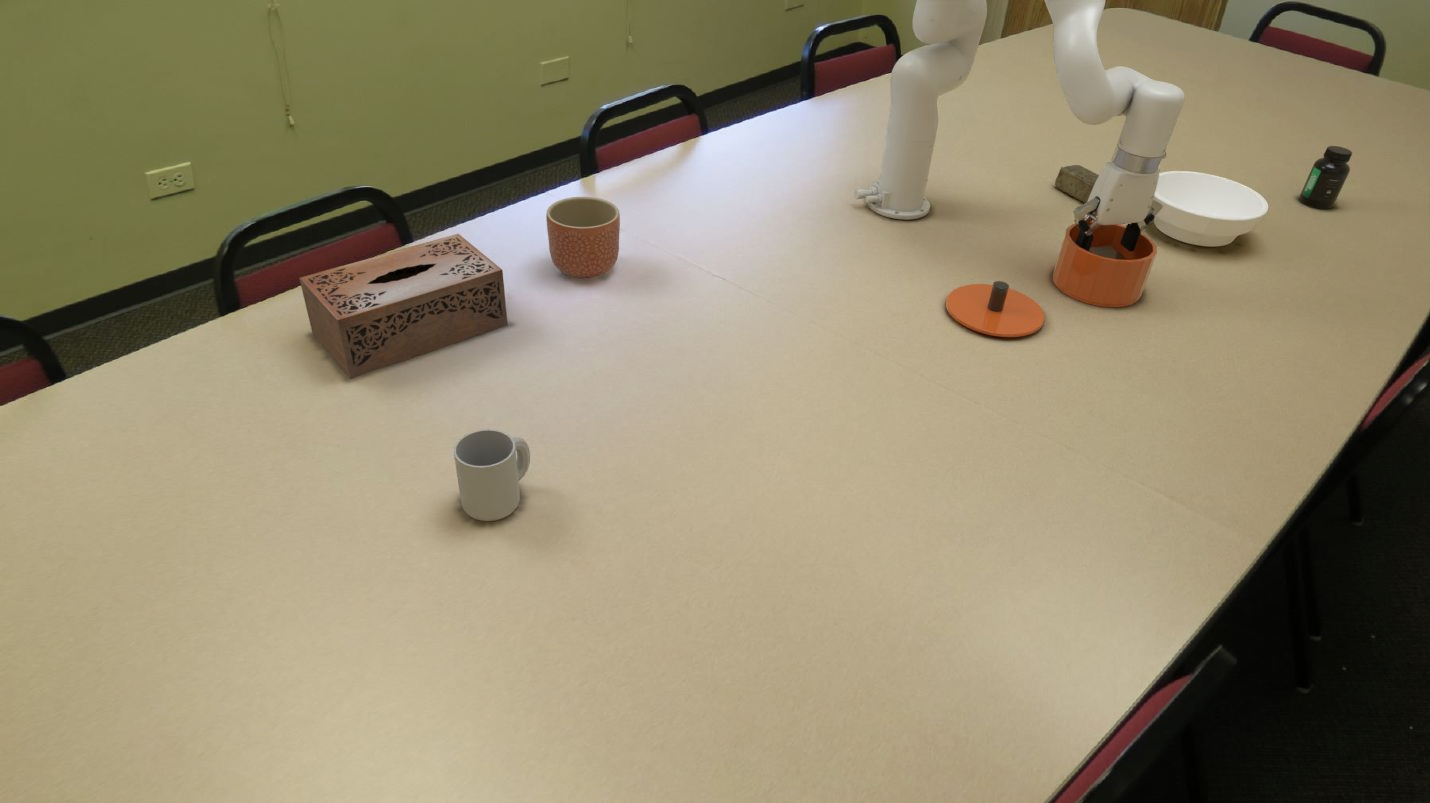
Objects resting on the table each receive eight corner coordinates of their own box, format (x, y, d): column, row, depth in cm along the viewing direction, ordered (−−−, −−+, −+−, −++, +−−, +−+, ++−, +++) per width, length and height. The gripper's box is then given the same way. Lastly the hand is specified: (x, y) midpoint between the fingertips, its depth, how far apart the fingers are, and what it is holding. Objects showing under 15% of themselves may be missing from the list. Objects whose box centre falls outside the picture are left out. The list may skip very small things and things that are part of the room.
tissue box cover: (350, 378, 139) (337, 320, 133) (312, 334, 148) (299, 277, 142) (507, 325, 153) (502, 269, 147) (464, 287, 161) (458, 233, 155)
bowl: (1246, 220, 199) (1262, 182, 194) (1258, 268, 182) (1275, 228, 177) (1133, 200, 204) (1146, 163, 199) (1134, 245, 187) (1148, 205, 182)
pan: (1084, 311, 165) (1099, 265, 160) (1036, 268, 177) (1048, 224, 172) (1158, 302, 169) (1176, 257, 164) (1107, 261, 181) (1121, 217, 176)
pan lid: (974, 345, 155) (982, 315, 151) (928, 294, 167) (934, 266, 164) (1061, 334, 159) (1071, 304, 156) (1010, 285, 171) (1018, 257, 168)
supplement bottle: (1299, 205, 206) (1323, 152, 199) (1297, 193, 212) (1320, 141, 204) (1334, 212, 205) (1360, 158, 197) (1331, 200, 210) (1355, 147, 203)
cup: (449, 503, 119) (441, 448, 114) (512, 465, 126) (507, 411, 120) (486, 531, 116) (479, 476, 110) (549, 491, 122) (545, 437, 117)
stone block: (1090, 208, 200) (1097, 186, 197) (1050, 187, 208) (1056, 165, 205) (1110, 204, 202) (1117, 181, 199) (1070, 183, 210) (1076, 161, 207)
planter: (632, 262, 171) (632, 206, 165) (597, 293, 162) (595, 234, 155) (573, 246, 175) (571, 190, 169) (535, 274, 166) (531, 217, 159)
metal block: (1092, 291, 170) (1102, 261, 167) (1076, 277, 174) (1086, 247, 171) (1116, 288, 172) (1127, 258, 168) (1100, 274, 175) (1110, 245, 172)
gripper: (1165, 147, 164) (1131, 236, 175) (1079, 152, 159) (1049, 243, 170) (1194, 165, 159) (1157, 256, 169) (1105, 171, 154) (1073, 264, 164)
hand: (1103, 250), depth 169 cm, fingers open, 9 cm apart
